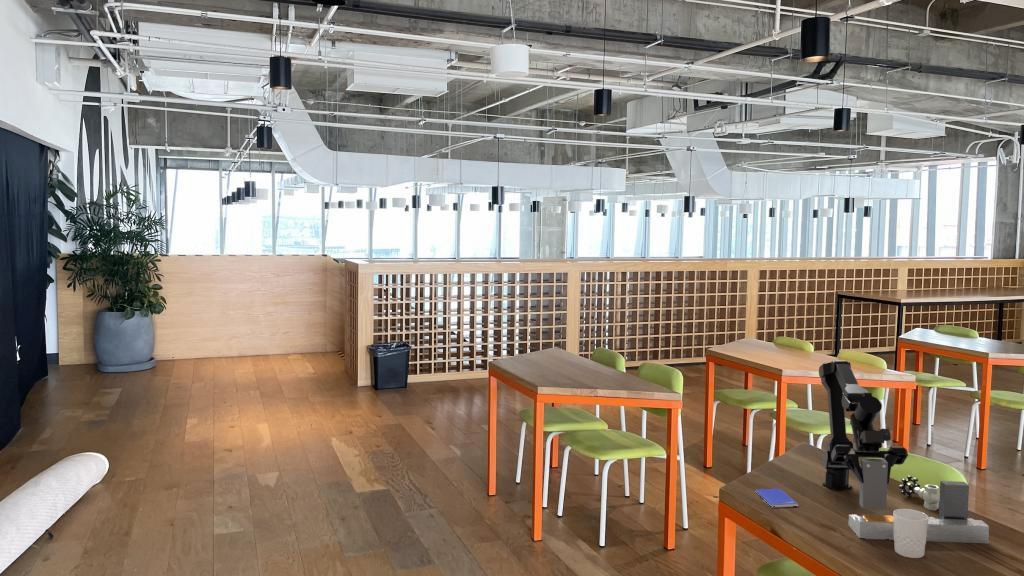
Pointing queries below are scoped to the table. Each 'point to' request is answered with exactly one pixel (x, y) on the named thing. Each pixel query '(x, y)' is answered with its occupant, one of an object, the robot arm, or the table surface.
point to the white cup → (910, 532)
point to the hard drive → (776, 497)
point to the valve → (922, 492)
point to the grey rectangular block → (873, 483)
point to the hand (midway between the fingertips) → (875, 483)
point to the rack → (932, 520)
